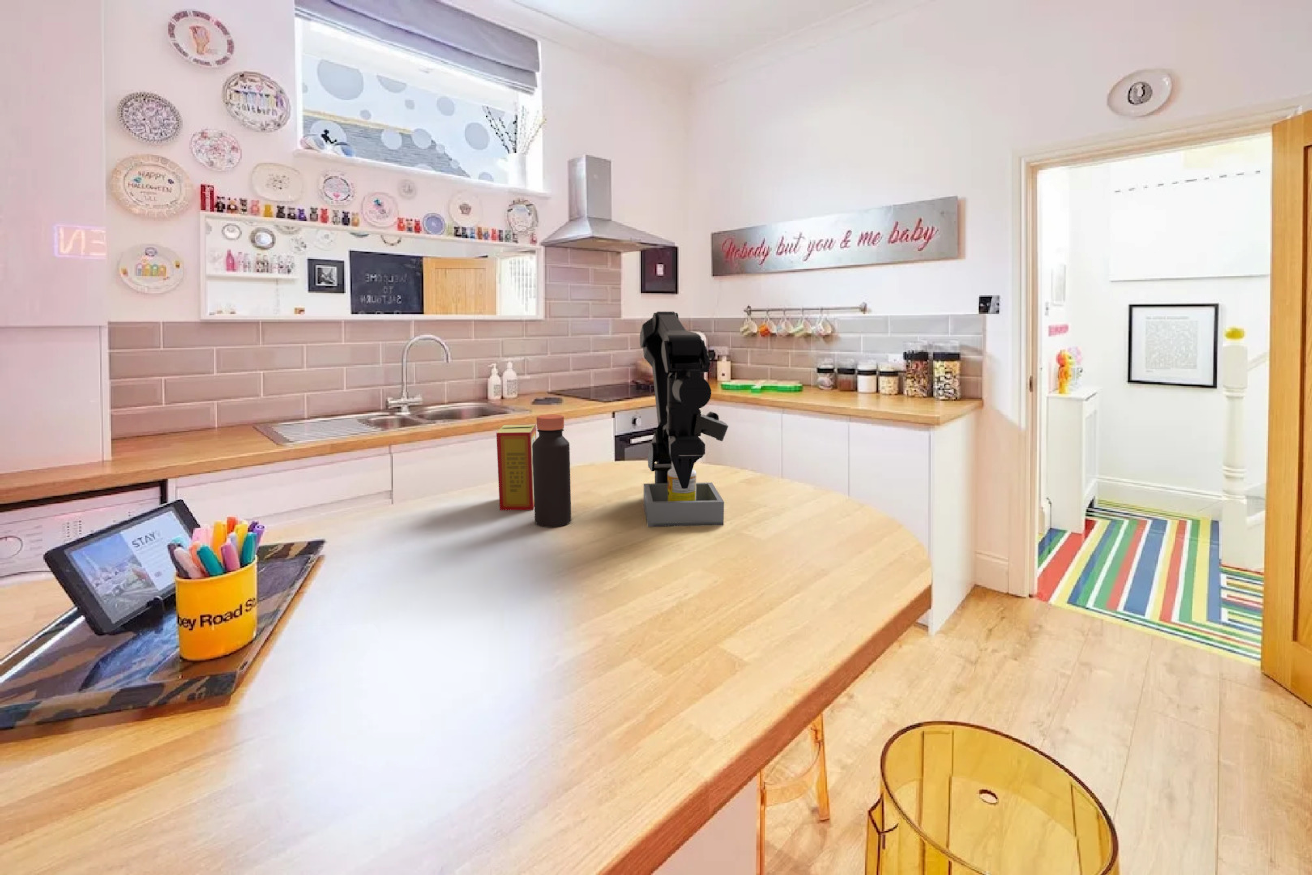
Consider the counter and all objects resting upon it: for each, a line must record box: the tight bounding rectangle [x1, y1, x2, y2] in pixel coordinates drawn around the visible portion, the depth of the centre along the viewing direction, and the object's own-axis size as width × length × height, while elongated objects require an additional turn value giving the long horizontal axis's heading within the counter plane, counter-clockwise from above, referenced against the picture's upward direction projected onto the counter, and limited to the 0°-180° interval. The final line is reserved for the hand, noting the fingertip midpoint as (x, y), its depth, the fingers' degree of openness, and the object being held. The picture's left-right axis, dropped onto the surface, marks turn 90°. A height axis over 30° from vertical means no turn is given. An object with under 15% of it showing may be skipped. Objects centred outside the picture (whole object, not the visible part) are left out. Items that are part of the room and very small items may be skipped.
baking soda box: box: [495, 423, 537, 511], centre depth 133 cm, size 10×6×16 cm
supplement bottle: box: [668, 463, 697, 501], centre depth 126 cm, size 6×6×10 cm
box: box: [643, 482, 725, 528], centre depth 126 cm, size 14×14×4 cm
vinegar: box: [532, 414, 572, 528], centre depth 120 cm, size 7×7×20 cm
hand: (681, 482), depth 126 cm, fingers open, 9 cm apart
